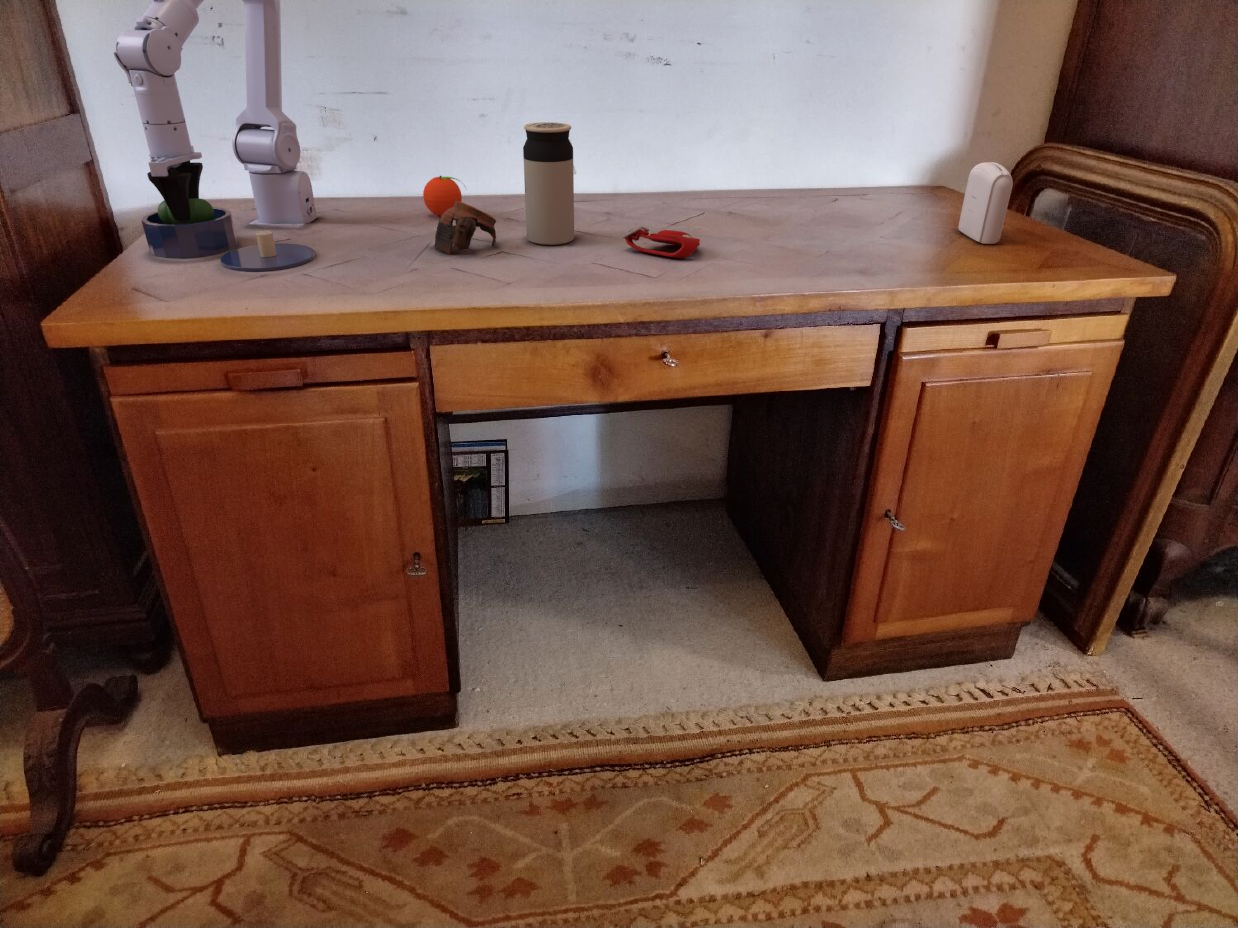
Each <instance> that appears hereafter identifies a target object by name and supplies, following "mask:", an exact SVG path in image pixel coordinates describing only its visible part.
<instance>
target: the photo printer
mask: <svg viewBox="0 0 1238 928" xmlns="http://www.w3.org/2000/svg"><path fill="white" fill-rule="evenodd" d="M1013 184H1014V181H1013V177H1012V175H1011V173H1010V172H1009V170H1008V169H1007V168H1006V167H1004V166H1003V165H1002V164H1000V163H998V162H994V161H990V162H988V161H987V162H986V161H985V162H980V163H978V164H976V165H975V166H973V168H972V169H971V170H970V172H969V175H968V179H967V183H966V189H965V192H964V197H963V202H962V207H961V211H960V216H959V221H958V227H957V228H958V231H959V232H961V233H962V234H964V235H965V236H967V237H969V238H970V239H972V240H974V241H976V242H978V243H980V244H985V245H995V244H997V243H999V242H1000V240H1001V237H1002V232H1003V228H1004V223H1005V218H1006V214H1007V212H1008V206H1009V202H1010V198H1011V194H1012V189H1013Z"/></svg>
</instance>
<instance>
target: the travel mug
mask: <svg viewBox="0 0 1238 928" xmlns="http://www.w3.org/2000/svg"><path fill="white" fill-rule="evenodd" d="M523 129H524V130H525V134H526V140H525V142H524V144H523V147H522V155H523V156H522V157H523V177H524V180H523V181H524V202H525V203H524V204H525V225H526V228H525V229H526V239H527V241H529V242H531V243H533V244H536V245H541V246H560V245H565V244H568V243H570V242H572V241H573V240H575V187H574V185H575V184H574V183H575V182H574V178H575V177H574V147H573V144H572V143H571V140H570V139H569V138H570V131H571V129H572V126H571V124H568V123H563V122H553V121H552V122H550V121H546V122H545V121H544V122H529V123H526V124H525V125H523Z"/></svg>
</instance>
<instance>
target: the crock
mask: <svg viewBox="0 0 1238 928" xmlns="http://www.w3.org/2000/svg"><path fill="white" fill-rule="evenodd" d="M212 207H213V209H214V218H213V220H210V221H206V222H199V223H193V224H178V225H170V224H166V223H164V222H163V221H162V220H161V219H160V217H159V215H158V210H157V211H154V212H151V213H148V214H146V215H143V217H142V218H141V224H142V228H143V231H144V236H145V239H146V242H147V246H148V250H149V253H150V254H151V255H153V256H154V257H158V258H163V259H179V260H180V259H181V260H184V259H186V260H187V259H196V258H197V259H199V258H204V257H205V258H206V257H210V256H216V255H220V254H223V253H224V254H225V253H228V252H230V251H232V250H234V249H235V248H237V246H238V239H237V235H236V231H235V225H234V220H233V215H232V211H231V210H228V209H227V208H224V207H218V206H212Z"/></svg>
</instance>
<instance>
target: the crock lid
mask: <svg viewBox="0 0 1238 928" xmlns="http://www.w3.org/2000/svg"><path fill="white" fill-rule="evenodd" d="M255 239H256V244H255V245H248V246H243V247H240V248H236V249H232V250H230V251H227V252H225V253H224V254H223V255H222V256H221V257H220V258H219V259H220V264H221V266H223V268H226V269H229V270H233V271H239V272H271V271H280V270H286V269H291V268H295V267H299V266H302V265H304V264H307V263H309V262H311V261H312V260H314V259H315V257H316V252H315V250H314V249H313V248H312V247H310V246H307V245H303V244H298V243H285V242H283V243H280V242H279V243H277V242H275V238H274V234H273V231H272V230H259V231H256V232H255Z"/></svg>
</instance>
